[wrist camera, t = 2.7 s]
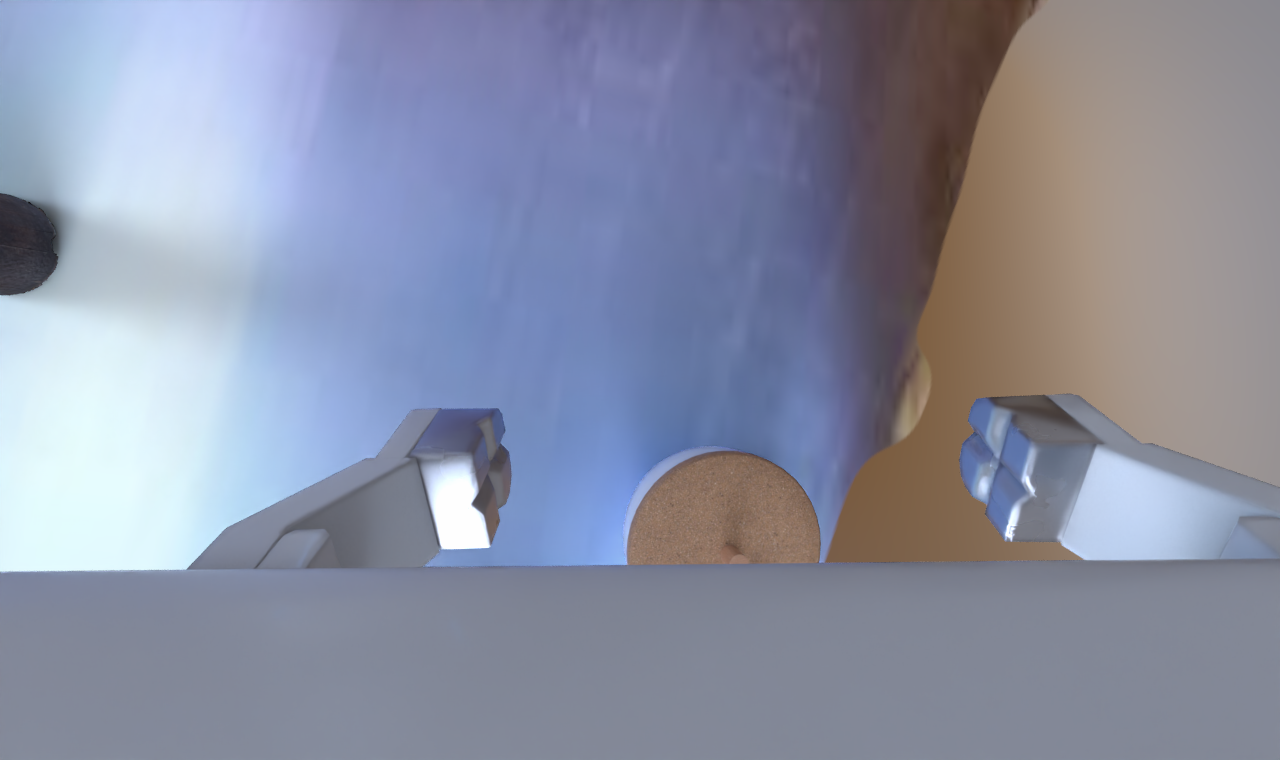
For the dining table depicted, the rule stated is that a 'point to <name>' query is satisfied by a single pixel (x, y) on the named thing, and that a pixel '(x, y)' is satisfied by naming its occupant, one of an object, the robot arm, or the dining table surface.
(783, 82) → the dining table surface
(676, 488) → the trinket box
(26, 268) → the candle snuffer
